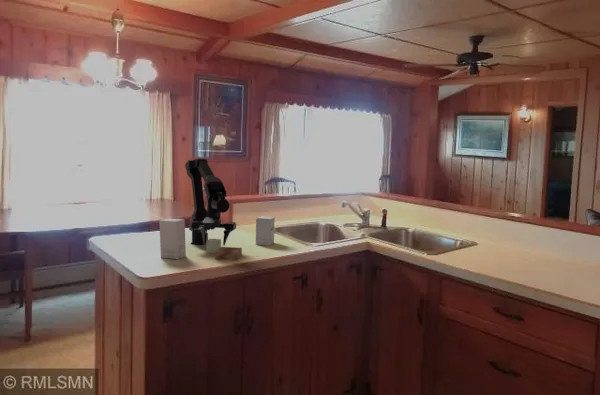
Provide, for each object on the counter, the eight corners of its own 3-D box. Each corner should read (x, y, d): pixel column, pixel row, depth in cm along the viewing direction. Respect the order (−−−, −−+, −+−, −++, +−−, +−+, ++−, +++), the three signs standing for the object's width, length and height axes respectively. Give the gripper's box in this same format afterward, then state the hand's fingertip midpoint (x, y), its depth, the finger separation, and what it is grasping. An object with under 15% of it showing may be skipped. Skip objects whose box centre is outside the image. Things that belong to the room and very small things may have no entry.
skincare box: (186, 256, 191) (186, 219, 189) (176, 260, 185) (176, 221, 183) (168, 254, 194) (168, 217, 192) (159, 257, 187) (158, 219, 186)
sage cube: (206, 252, 199) (206, 240, 199) (209, 249, 204) (209, 238, 204) (217, 252, 199) (217, 241, 198) (220, 250, 204) (220, 239, 203)
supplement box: (270, 245, 215) (271, 219, 214) (255, 244, 217) (255, 218, 215) (274, 242, 222) (275, 216, 221) (259, 241, 224) (260, 215, 222)
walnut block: (214, 260, 188) (214, 251, 187) (220, 254, 197) (220, 246, 196) (236, 261, 187) (236, 252, 187) (241, 255, 196) (241, 247, 195)
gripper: (186, 211, 193) (186, 247, 194) (230, 213, 191) (230, 250, 192) (195, 207, 204) (195, 242, 205) (236, 209, 202) (236, 244, 204)
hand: (213, 244), depth 201 cm, fingers open, 9 cm apart
